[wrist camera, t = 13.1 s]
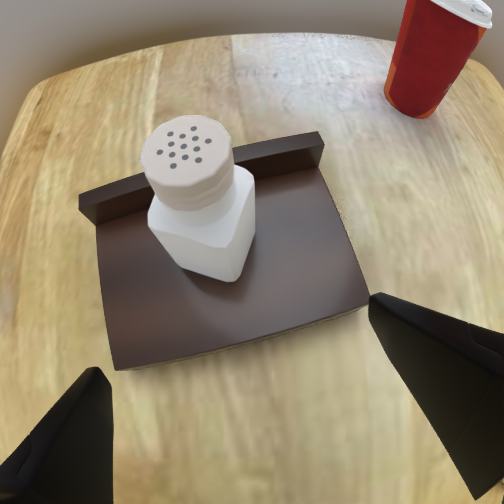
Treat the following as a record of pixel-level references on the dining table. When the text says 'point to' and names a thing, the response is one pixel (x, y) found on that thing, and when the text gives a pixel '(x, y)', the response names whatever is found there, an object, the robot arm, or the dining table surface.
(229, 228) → the pepper shaker
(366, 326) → the dining table surface
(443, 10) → the coffee cup
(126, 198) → the spice rack
